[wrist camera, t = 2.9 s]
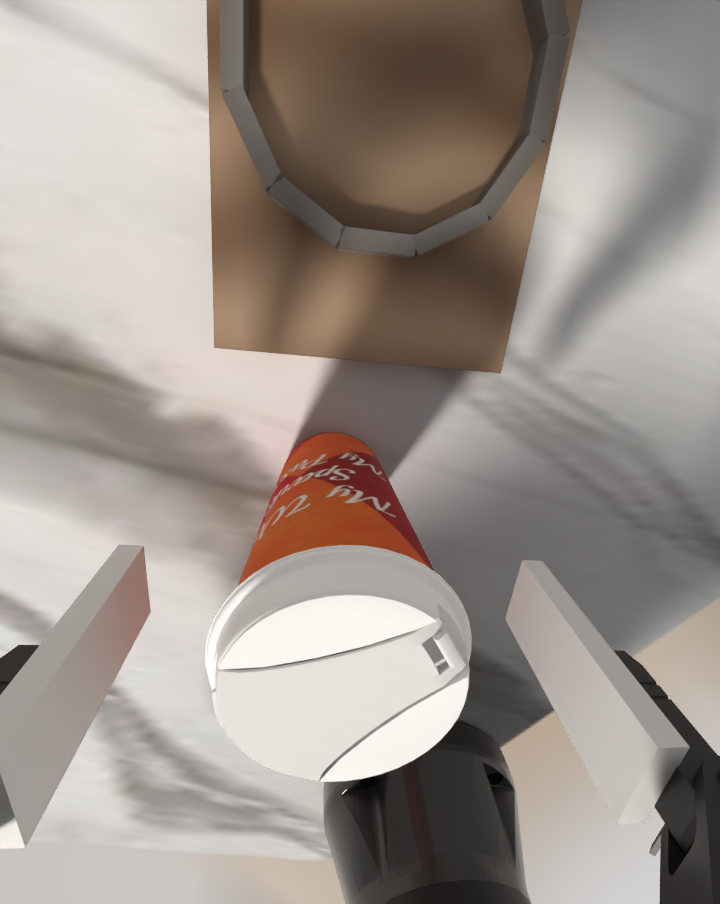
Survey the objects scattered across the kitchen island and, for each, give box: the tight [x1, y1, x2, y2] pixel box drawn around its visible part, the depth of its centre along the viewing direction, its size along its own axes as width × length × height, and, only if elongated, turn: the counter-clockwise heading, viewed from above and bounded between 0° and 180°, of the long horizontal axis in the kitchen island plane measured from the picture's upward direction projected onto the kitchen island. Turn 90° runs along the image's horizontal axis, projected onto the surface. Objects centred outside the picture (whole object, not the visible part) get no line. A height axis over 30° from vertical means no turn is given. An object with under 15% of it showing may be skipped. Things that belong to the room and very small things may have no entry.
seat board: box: [207, 0, 582, 373], centre depth 16 cm, size 22×14×3 cm, turn 174°
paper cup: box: [205, 432, 472, 782], centre depth 17 cm, size 8×8×14 cm
